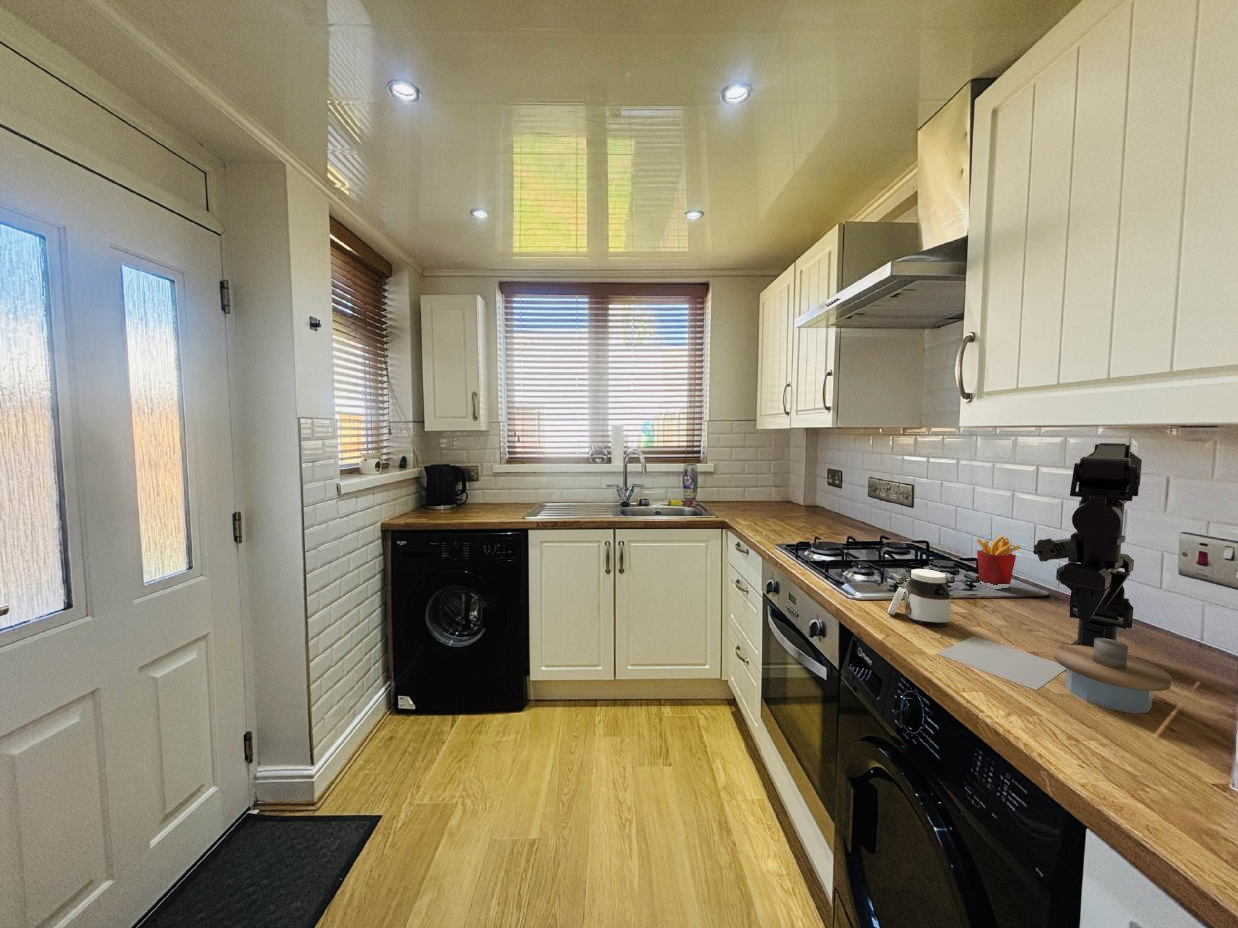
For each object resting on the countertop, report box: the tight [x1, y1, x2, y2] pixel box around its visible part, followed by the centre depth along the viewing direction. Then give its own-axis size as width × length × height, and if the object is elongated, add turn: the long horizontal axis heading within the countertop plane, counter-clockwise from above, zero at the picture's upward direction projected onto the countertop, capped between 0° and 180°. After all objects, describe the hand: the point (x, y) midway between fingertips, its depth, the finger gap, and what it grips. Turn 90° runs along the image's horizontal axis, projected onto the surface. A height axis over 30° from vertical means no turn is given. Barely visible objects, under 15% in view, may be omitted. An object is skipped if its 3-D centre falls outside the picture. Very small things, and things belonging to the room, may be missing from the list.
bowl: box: [1065, 669, 1154, 714], centre depth 83 cm, size 10×10×5 cm
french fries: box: [976, 535, 1022, 585], centre depth 141 cm, size 9×8×15 cm
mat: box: [936, 635, 1067, 691], centre depth 96 cm, size 16×16×1 cm
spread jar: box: [887, 568, 952, 628], centre depth 117 cm, size 12×11×12 cm
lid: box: [1053, 638, 1172, 692], centre depth 83 cm, size 14×14×4 cm
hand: (1092, 614), depth 89 cm, fingers open, 9 cm apart
